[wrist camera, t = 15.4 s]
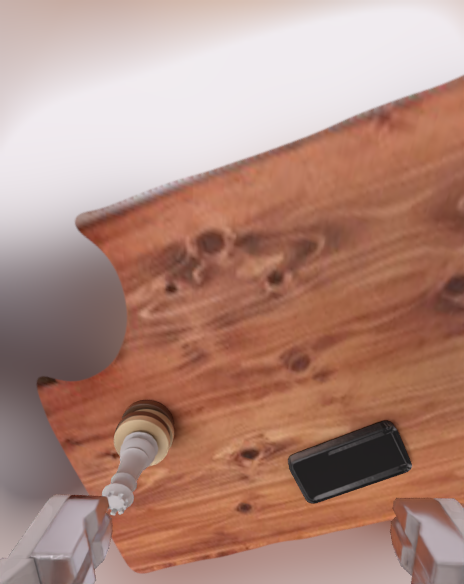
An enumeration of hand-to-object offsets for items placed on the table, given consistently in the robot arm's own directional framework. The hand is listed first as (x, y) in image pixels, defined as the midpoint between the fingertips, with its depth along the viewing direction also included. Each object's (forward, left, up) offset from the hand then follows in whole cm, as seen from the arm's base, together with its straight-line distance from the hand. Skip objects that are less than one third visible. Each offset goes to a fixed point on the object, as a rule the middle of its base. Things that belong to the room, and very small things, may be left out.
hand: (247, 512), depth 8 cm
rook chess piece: (+2, +23, -24) cm, 33 cm away
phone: (-24, +14, -27) cm, 39 cm away
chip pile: (+2, +23, -27) cm, 36 cm away
